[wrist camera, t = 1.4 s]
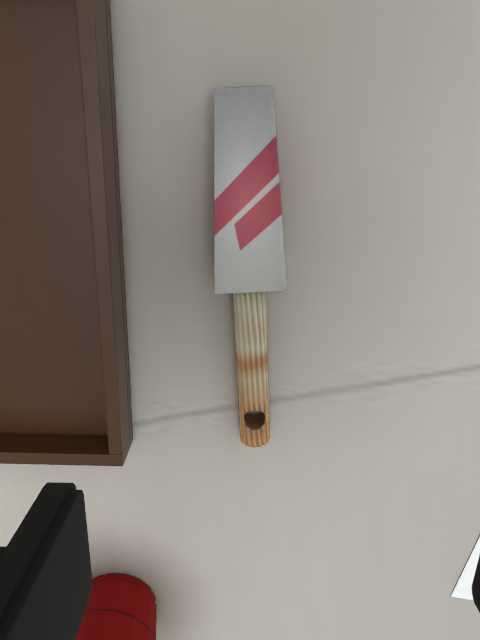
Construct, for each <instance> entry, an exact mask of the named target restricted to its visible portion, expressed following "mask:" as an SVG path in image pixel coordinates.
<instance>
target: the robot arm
mask: <svg viewBox="0 0 480 640" xmlns="http://www.w3.org/2000/svg"><path fill="white" fill-rule="evenodd" d="M91 590H92V573H91V563H90V553H89V543H88V533H87V523H86V513H85V503H84V494H83V491H82V490H76V486H75V484H74V483H47V484H45V486H44V487H43V489H42V490H41V492H40V493H39V495H38V497H37V498H36V500H35V502H34V503H33V505H32V506H31V508H30V510H29V511H28V513H27V515H26V516H25V518H24V519H23V521H22V523H21V524H20V526H19V528H18V529H17V531H16V532H15V534H14V536H13V537H12V539H11V541H10V542H9V544H8V545H7V547H0V640H76V637H77V634H78V631H79V628H80V625H81V622H82V619H83V617H84V614H85V611H86V608H87V605H88V602H89V599H90V595H91ZM472 596H473V600H474V602H475V605H476V607H477V608H478V610H479V612H480V555H479V559H478V563H477V567H476V571H475V575H474V579H473V583H472Z"/></svg>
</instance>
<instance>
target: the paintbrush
mask: <svg viewBox="0 0 480 640" xmlns="http://www.w3.org/2000/svg"><path fill="white" fill-rule="evenodd" d="M214 266H215V294H227V293H233V302H234V322H235V342H236V360H237V378H238V395H239V416H240V438H241V441H242V443H244V444H245V445H246V446H247V445H248V446H249V447H252V446H253V447H254V448H256V447H257V446H258V447H261V446H262V445H266V443H268V442H269V439H270V422H269V394H268V359H267V317H266V292H269V291H287V282H286V267H285V253H284V239H283V225H282V211H281V196H280V182H279V168H278V154H277V140H276V125H275V111H274V97H273V86H255V87H236V88H217V89H214ZM253 410H256V411H259V410H260V411H261V413H260V414H258V415H257V414H255V415H252V414H249V415H248V414H247V412H248V411H253Z"/></svg>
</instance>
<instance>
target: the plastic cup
mask: <svg viewBox="0 0 480 640" xmlns="http://www.w3.org/2000/svg"><path fill="white" fill-rule="evenodd" d="M76 640H156V604H155V597H154V595H153V593H152V591H151V589H150V587H148V586H147V585H146V584H144V583H143V582H142V581H141V580H139V579H137V578H134V577H131V576H128V575H126V574H107V575H104V576H100V577H97V578H95V579H94V580H93V581H92V590H91V595H90V599H89V602H88V605H87V608H86V611H85V614H84V617H83V619H82V622H81V625H80V628H79V631H78V634H77V637H76Z"/></svg>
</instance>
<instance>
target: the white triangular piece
mask: <svg viewBox="0 0 480 640" xmlns="http://www.w3.org/2000/svg"><path fill="white" fill-rule="evenodd" d="M479 555H480V537H479V539H478V541H477V543H476V545H475V547H474V550H473V552H472V554H471V556H470V558H469V560H468V562H467V564H466V566H465V568H464V570H463V572H462V574H461V576H460V579H459V581H458V583H457V585H456V587H455V589H454V591H453V593H452V595H451V597H458V598H464V599H471V600H473V596H472V583H473V579H474V575H475V571H476V567H477V563H478V559H479Z"/></svg>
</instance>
